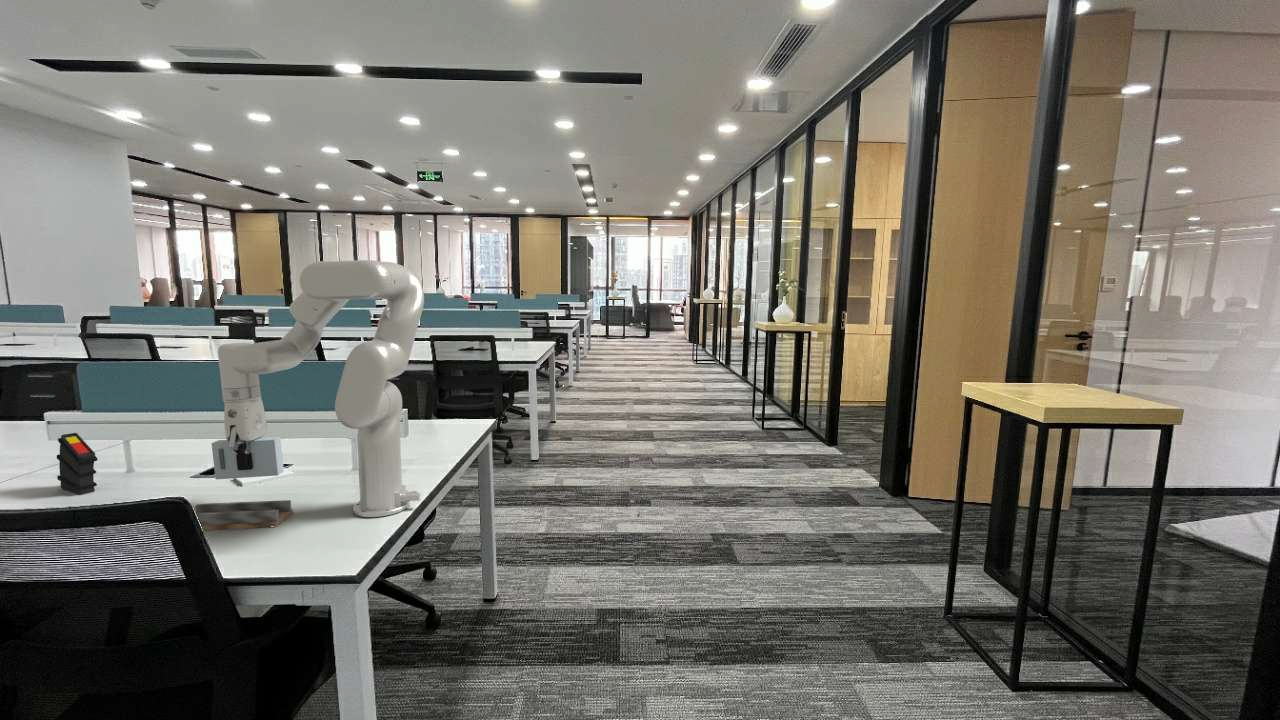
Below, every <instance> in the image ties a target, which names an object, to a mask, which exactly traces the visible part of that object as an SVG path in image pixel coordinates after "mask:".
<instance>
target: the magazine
mask: <svg viewBox="0 0 1280 720" xmlns="http://www.w3.org/2000/svg"><path fill="white" fill-rule="evenodd" d="M57 442H58V443H59V454H56V459H57V460H58V461H59V463H58V464H59V467H58V468H59V475H57V476H56V478H57V481H59V482H60V488H61V489H62V490H65V491H67V492H71V493H74V494H76V495H84V494H89V493H93V492H95V487H97V486H98V484H97V483H96V482H95V481H94V477H95V475H94V474H97V470H95V468H94V467H95V465H94V464H95V462H97V461H98V457H97V455H96V453H95V452H94V450H93V449H92V448H91V447H90V446H89V445H88V444H87V442H86V441H85V440H84V439H83V438H82V436H81V435H79V434H78V433H77V432H73V433H72V432H70V433H66V434H61V436H60V437H59V438H57Z"/></svg>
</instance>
